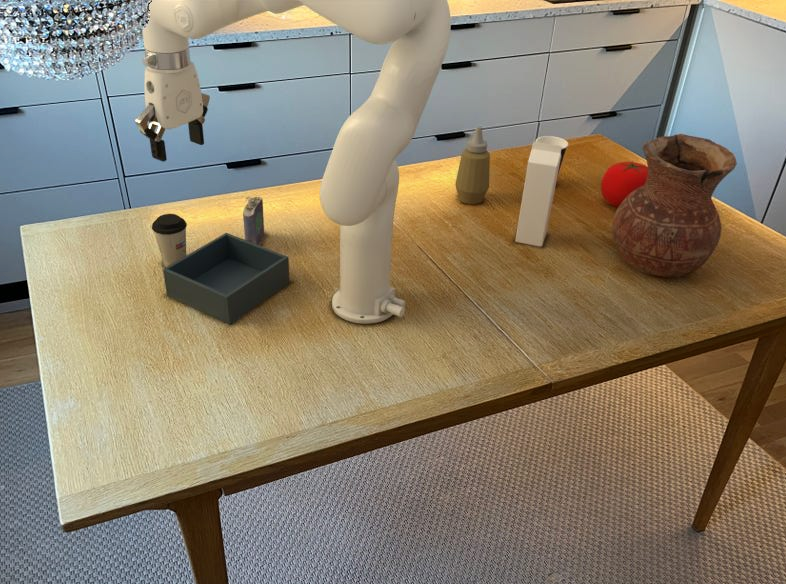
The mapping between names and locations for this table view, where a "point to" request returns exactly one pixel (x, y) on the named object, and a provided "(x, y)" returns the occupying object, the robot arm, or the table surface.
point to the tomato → (622, 181)
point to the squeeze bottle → (473, 170)
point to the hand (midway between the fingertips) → (178, 151)
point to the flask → (254, 220)
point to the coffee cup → (170, 237)
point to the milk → (538, 193)
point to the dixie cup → (555, 141)
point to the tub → (227, 277)
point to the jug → (673, 207)
